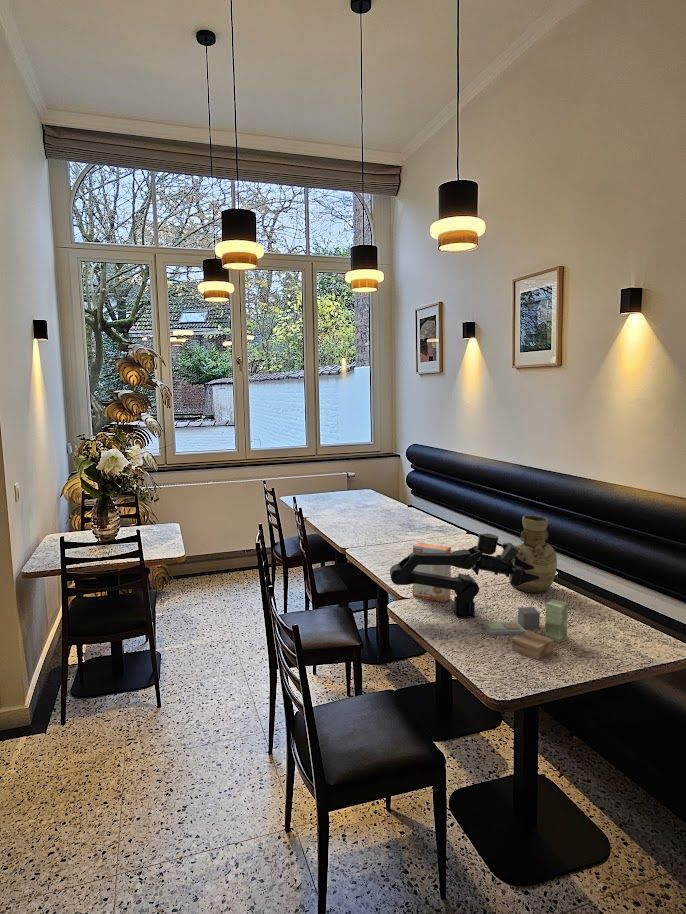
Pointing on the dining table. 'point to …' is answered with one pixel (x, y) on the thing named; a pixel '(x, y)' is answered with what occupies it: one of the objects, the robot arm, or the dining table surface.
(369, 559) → the dining table surface
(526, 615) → the charcoal cube
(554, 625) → the sage pillar
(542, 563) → the ceramic vessel
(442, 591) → the cracker box
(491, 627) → the board
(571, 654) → the dining table surface
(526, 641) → the walnut base block
